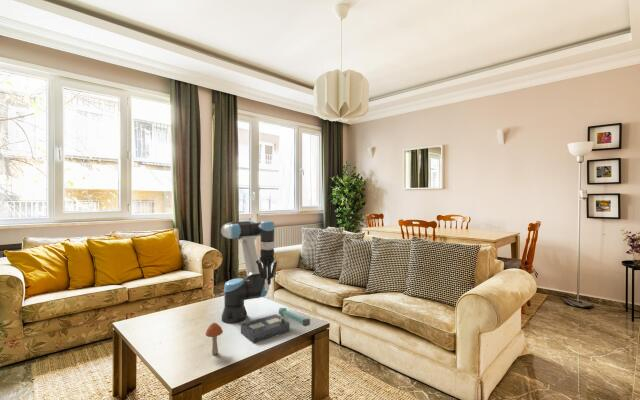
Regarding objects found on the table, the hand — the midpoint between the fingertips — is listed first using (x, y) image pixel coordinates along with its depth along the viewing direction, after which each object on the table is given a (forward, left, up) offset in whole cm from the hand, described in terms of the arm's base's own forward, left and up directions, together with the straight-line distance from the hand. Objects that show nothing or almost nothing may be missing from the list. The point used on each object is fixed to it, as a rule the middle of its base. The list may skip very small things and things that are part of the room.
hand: (267, 289), depth 184 cm
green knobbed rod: (+14, +8, -14) cm, 22 cm away
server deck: (+4, -4, -22) cm, 22 cm away
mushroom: (+10, -34, -22) cm, 42 cm away
